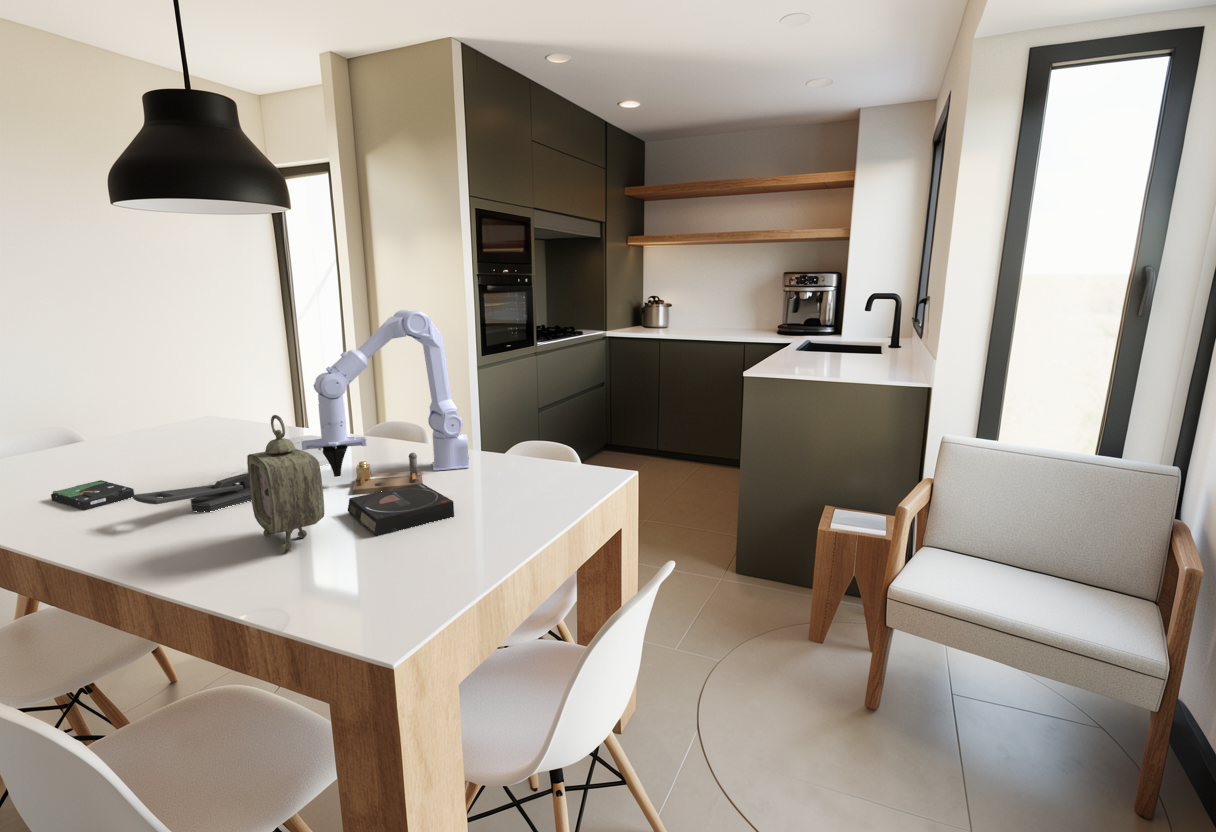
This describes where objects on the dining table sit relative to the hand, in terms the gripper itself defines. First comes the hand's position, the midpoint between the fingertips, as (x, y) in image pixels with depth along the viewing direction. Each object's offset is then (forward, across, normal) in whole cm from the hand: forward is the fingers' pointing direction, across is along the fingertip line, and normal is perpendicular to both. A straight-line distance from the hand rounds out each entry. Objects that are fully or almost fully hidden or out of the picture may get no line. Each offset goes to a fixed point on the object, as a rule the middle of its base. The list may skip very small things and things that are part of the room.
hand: (337, 475), depth 152 cm
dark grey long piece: (+3, -27, -8) cm, 28 cm away
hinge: (+3, -11, +20) cm, 23 cm away
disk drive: (+4, -54, +7) cm, 54 cm away
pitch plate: (+3, +12, -2) cm, 12 cm away
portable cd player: (+3, +15, -26) cm, 30 cm away
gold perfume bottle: (+1, +6, -2) cm, 6 cm away
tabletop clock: (+3, -5, -34) cm, 35 cm away
